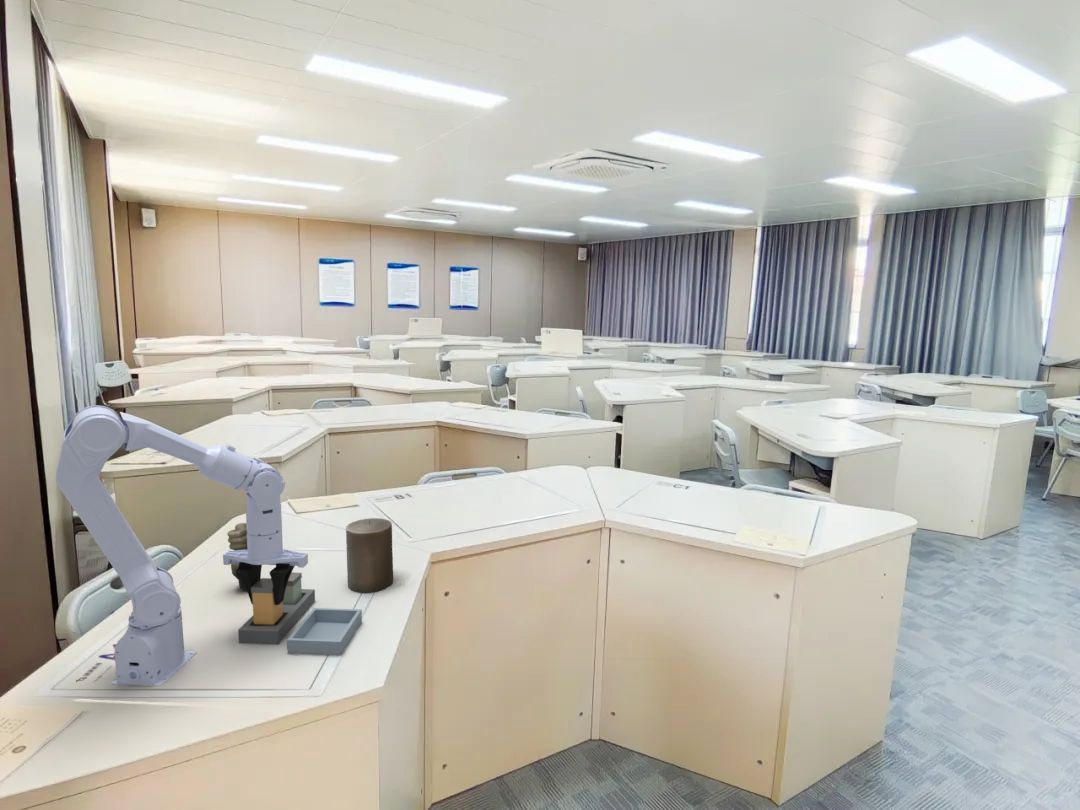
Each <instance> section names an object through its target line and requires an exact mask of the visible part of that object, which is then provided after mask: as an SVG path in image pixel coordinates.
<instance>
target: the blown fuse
mask: <svg viewBox="0 0 1080 810" xmlns="http://www.w3.org/2000/svg"><path fill="white" fill-rule="evenodd" d="M251 593H252V600H253V604H252V612H253V613H252V616H253V619H254V624H271V625H274V624H275V622H276V621H277V620H278V619H279V618H280V617H281V616H282V615H283V607H282V602H281V603H280V604H279V605H275V603H274V589H273V583H272V579H271V577H270V578H269V577H268V578H267V577H266V578H265V577H261V579H260V580H259V581H258V582H257V583H256V584H254V585H253V586H252V587H251Z"/></svg>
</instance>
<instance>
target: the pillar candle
mask: <svg viewBox="0 0 1080 810" xmlns="http://www.w3.org/2000/svg"><path fill="white" fill-rule="evenodd" d="M392 525H393V524H392V521H391V520H388V519H385V518H379V517H378V518H377V517H376V518H375V517H372V518H371V517H370V518H364V519H363V518H362V519H359V520H354V521H352V522H350V523H348V524H347V525H346V527H345V538H346V539H345V542H346V543H345V544H346V571H347V572H346V573H347V587H348V590H350V591H351V592H354V593H358V594H373V593H378V592H381V591H384V590H386V589H387V588H389V587H391V586H392V585H393V584H394V559H393V558H394V557H393V526H392Z"/></svg>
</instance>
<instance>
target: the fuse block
mask: <svg viewBox="0 0 1080 810" xmlns="http://www.w3.org/2000/svg"><path fill="white" fill-rule="evenodd" d="M315 602H316V590H315V588H314V589H311V588H309V589H308V588H302V598H301V600H300V601H299V602H298V603H297V604H296V605H285V604H282V607H283V615H282V616H281V617H280V618H279V619H278V620H277V621H276V622H275V624H274V625H271V624H254V619H253V615H251V616H250V617H249V619H248V620H247V621H246V622H244V623H243V624H242V625H241V626H240V628H239V629H237V633H238V634H237V635H238V644H246V645H247V644H249V645H252V644H253V645H279V644H280V643H281V642H282V640H284V639H285V638H286V636H288V634H289V632H291V630H292V629H293V628H295V625H296V624H297V623H298V622H299V621H300V620H301V619H302V617H303V616H304V615H305V614H306V613H307V611H308V610H309V609H310V608H311V607H312V606H313V604H315Z"/></svg>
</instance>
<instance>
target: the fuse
mask: <svg viewBox="0 0 1080 810" xmlns="http://www.w3.org/2000/svg"><path fill="white" fill-rule="evenodd" d="M302 574H303V573H302V572H293V571H292V573H291V575H290V577H289V580H288V583H287V586H286V589H285V594H284V600H283V601H282V604H285V605H296V604H297V603H298V602H299V601H300V600H301V598H302V589H303V588H302V578H303V576H302Z"/></svg>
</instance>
